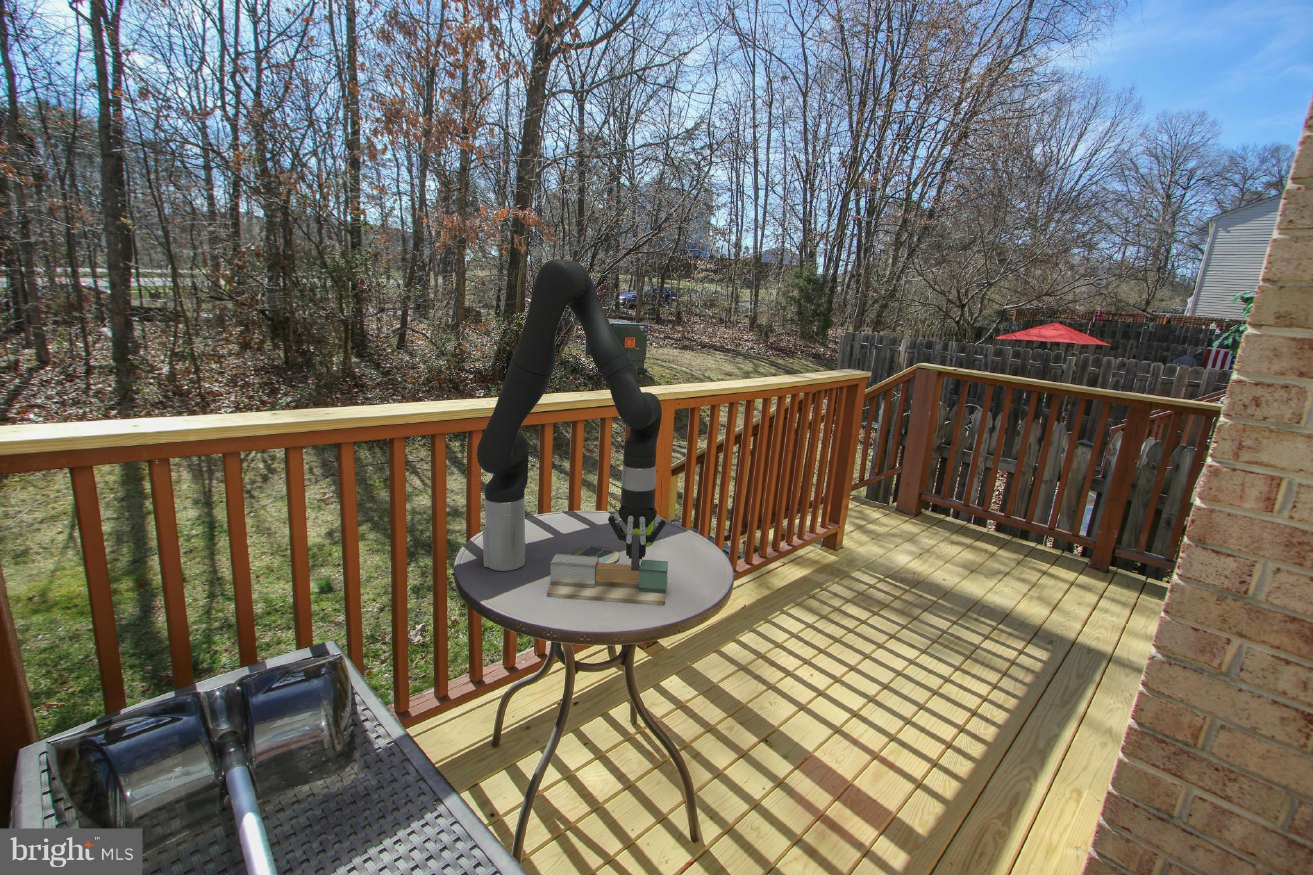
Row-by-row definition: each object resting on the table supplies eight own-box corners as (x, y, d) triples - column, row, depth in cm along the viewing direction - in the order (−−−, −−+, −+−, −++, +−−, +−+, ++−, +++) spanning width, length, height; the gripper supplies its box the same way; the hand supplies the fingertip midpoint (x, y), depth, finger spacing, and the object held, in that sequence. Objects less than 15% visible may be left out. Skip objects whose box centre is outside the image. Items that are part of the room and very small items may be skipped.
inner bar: (575, 578, 138) (576, 535, 136) (578, 573, 141) (578, 530, 139) (655, 584, 137) (656, 540, 135) (656, 578, 140) (657, 535, 138)
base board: (546, 596, 135) (546, 592, 135) (559, 572, 146) (559, 568, 146) (664, 605, 133) (664, 601, 133) (667, 580, 145) (667, 576, 144)
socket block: (638, 591, 137) (639, 569, 135) (640, 581, 141) (641, 559, 140) (665, 593, 136) (666, 570, 135) (666, 583, 141) (667, 561, 140)
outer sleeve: (550, 585, 138) (550, 562, 137) (555, 575, 143) (555, 553, 142) (594, 588, 137) (594, 565, 136) (598, 578, 142) (598, 556, 141)
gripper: (604, 487, 130) (602, 562, 134) (668, 491, 129) (665, 567, 133) (610, 477, 138) (608, 548, 142) (670, 481, 137) (667, 553, 141)
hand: (635, 557), depth 138 cm, fingers closed on inner bar
